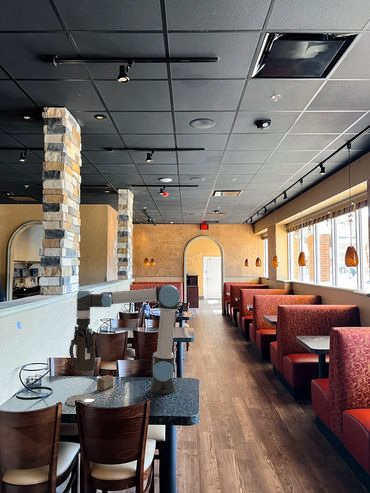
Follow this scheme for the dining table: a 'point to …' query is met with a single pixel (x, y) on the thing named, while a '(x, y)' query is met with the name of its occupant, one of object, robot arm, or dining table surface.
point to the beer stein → (83, 355)
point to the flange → (83, 397)
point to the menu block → (105, 383)
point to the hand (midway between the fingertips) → (82, 357)
